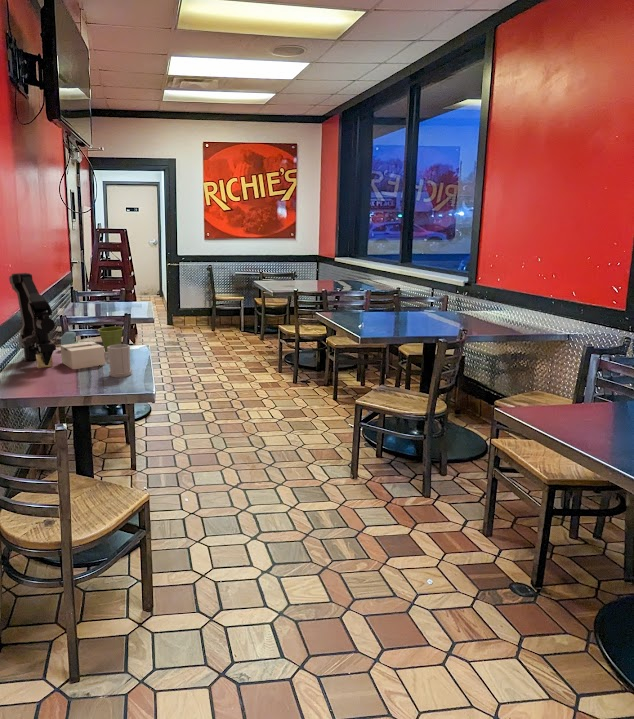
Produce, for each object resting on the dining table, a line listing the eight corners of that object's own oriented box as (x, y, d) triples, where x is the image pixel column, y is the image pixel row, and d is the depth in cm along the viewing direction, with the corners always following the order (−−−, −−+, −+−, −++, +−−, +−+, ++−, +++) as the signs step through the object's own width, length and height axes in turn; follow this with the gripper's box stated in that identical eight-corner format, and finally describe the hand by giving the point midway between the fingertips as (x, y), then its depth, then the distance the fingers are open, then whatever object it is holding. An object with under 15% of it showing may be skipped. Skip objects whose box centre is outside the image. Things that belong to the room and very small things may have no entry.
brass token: (37, 367, 277) (35, 353, 276) (51, 365, 281) (50, 352, 280) (38, 368, 276) (37, 354, 274) (53, 366, 279) (51, 352, 278)
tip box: (62, 362, 285) (60, 345, 284) (93, 358, 293) (92, 341, 292) (72, 369, 273) (71, 351, 271) (105, 364, 281) (103, 346, 279)
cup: (104, 378, 257) (102, 349, 254) (105, 373, 265) (103, 345, 263) (131, 376, 260) (129, 347, 257) (132, 371, 268) (129, 343, 265)
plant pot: (102, 349, 313) (100, 327, 310) (127, 348, 314) (125, 326, 311) (97, 354, 301) (95, 331, 299) (123, 354, 302) (121, 330, 300)
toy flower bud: (87, 332, 313) (61, 333, 308) (87, 350, 314) (61, 351, 309) (86, 330, 319) (60, 330, 314) (86, 347, 321) (60, 348, 316)
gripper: (15, 327, 277) (19, 362, 281) (26, 333, 263) (30, 370, 266) (42, 325, 284) (46, 359, 287) (54, 330, 269) (58, 366, 273)
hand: (44, 364), depth 278 cm, fingers open, 6 cm apart
